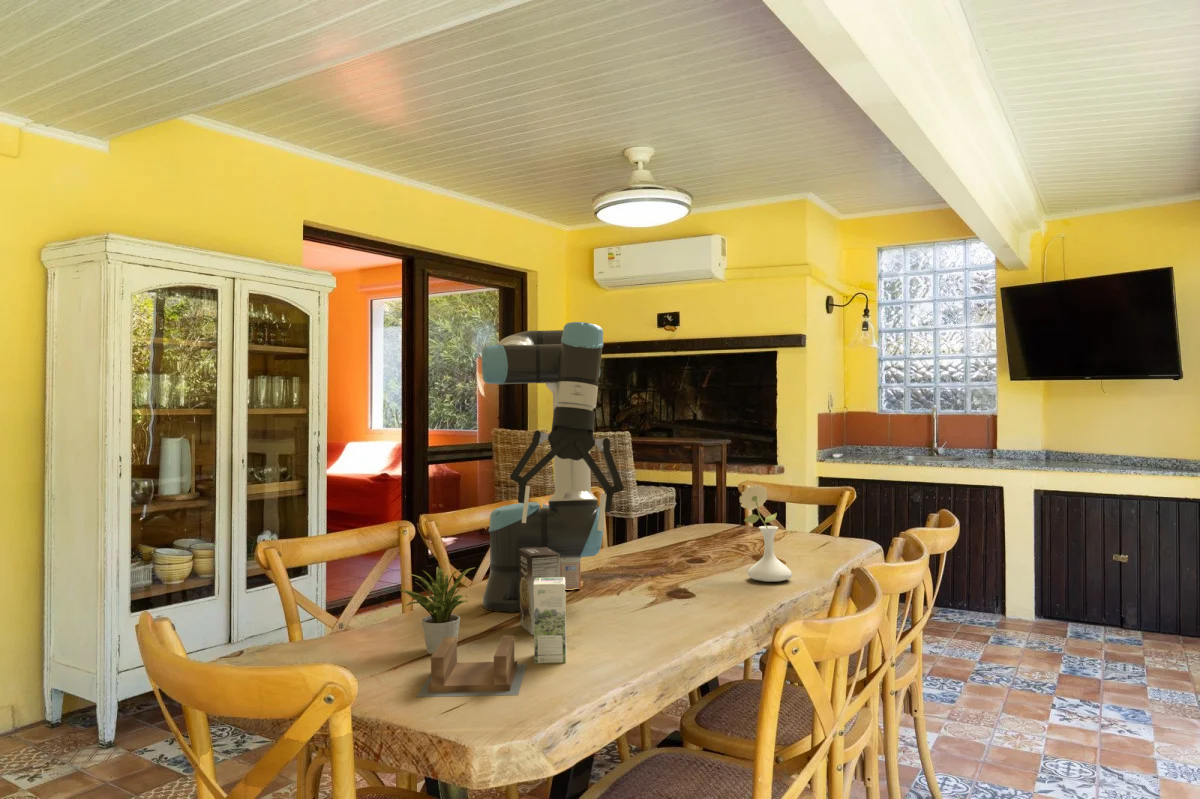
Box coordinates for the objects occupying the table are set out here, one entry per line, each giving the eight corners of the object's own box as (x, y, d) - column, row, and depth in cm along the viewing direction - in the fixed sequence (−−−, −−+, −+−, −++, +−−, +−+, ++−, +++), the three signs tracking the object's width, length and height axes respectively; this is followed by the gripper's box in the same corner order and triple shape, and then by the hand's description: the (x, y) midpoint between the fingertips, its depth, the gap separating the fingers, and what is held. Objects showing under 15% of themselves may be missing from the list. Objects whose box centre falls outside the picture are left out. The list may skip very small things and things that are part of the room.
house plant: (450, 635, 163) (448, 554, 164) (497, 647, 155) (496, 561, 155) (391, 652, 152) (389, 565, 153) (438, 666, 144) (437, 573, 144)
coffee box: (518, 625, 171) (517, 548, 171) (548, 621, 173) (546, 545, 173) (530, 635, 162) (529, 554, 163) (561, 632, 165) (559, 552, 165)
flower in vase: (789, 576, 216) (787, 482, 217) (795, 585, 205) (792, 485, 205) (739, 576, 217) (737, 482, 218) (742, 585, 206) (740, 486, 206)
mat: (527, 665, 143) (527, 663, 143) (518, 696, 127) (518, 694, 127) (436, 667, 143) (436, 665, 143) (416, 698, 127) (416, 696, 127)
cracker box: (582, 590, 203) (581, 506, 204) (559, 592, 201) (558, 508, 202) (564, 579, 216) (562, 501, 217) (542, 582, 214) (541, 502, 215)
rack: (517, 667, 141) (516, 635, 141) (510, 690, 129) (509, 656, 129) (442, 668, 141) (442, 636, 141) (428, 692, 129) (427, 657, 129)
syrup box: (566, 655, 149) (565, 575, 149) (566, 665, 143) (565, 582, 143) (535, 655, 149) (534, 576, 149) (534, 666, 143) (532, 583, 143)
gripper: (505, 398, 142) (490, 520, 140) (646, 414, 144) (634, 534, 141) (506, 402, 149) (492, 518, 147) (640, 417, 151) (628, 532, 149)
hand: (562, 526), depth 144 cm, fingers open, 13 cm apart
